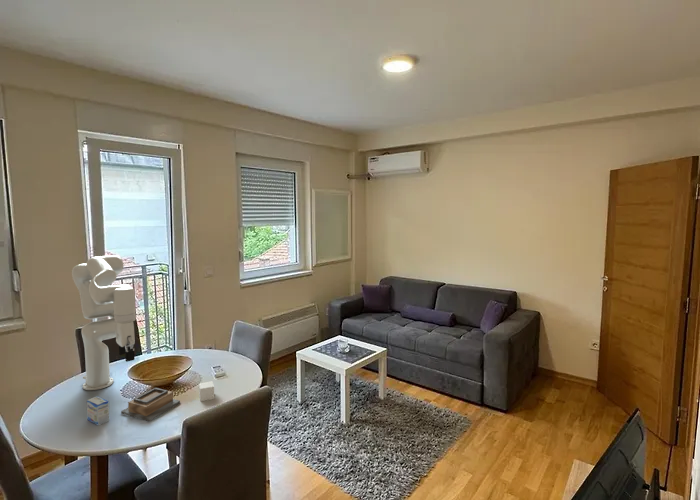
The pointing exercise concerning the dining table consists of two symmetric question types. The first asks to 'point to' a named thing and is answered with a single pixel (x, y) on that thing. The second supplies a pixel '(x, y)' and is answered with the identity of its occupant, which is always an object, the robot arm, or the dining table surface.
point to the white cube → (206, 391)
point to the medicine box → (97, 410)
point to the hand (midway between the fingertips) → (126, 357)
